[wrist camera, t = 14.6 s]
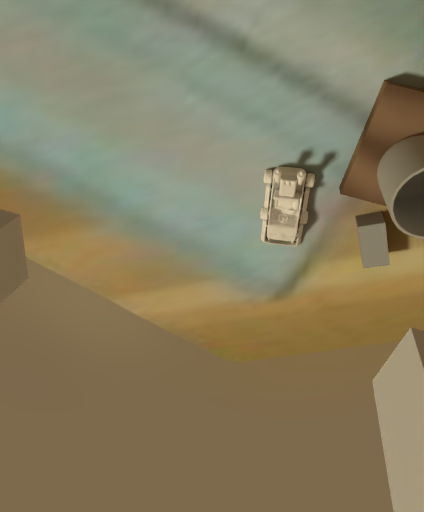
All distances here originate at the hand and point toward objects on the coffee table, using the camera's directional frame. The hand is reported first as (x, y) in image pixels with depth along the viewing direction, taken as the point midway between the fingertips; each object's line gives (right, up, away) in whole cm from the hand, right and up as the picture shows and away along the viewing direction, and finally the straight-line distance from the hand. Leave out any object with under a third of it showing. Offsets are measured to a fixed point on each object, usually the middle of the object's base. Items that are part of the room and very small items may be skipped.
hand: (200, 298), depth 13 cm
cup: (+22, +12, +27) cm, 37 cm away
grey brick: (+21, +4, +35) cm, 41 cm away
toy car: (+10, +8, +35) cm, 38 cm away
